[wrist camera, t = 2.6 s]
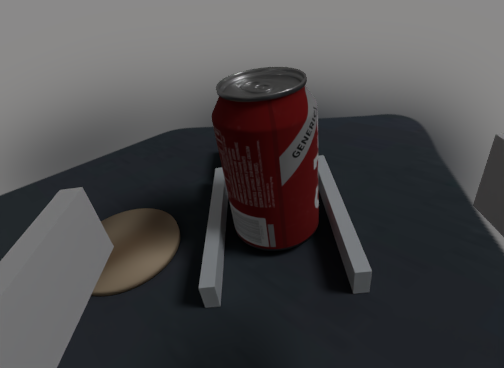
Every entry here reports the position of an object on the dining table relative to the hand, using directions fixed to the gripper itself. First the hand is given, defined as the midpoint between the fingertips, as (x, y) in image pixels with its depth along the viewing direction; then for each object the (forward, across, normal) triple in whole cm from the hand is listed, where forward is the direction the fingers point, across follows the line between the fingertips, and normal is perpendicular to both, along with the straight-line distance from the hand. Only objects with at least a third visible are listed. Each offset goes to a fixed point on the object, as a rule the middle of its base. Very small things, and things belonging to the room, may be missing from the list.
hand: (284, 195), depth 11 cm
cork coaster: (+10, -13, -11) cm, 20 cm away
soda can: (+11, 0, -12) cm, 16 cm away
